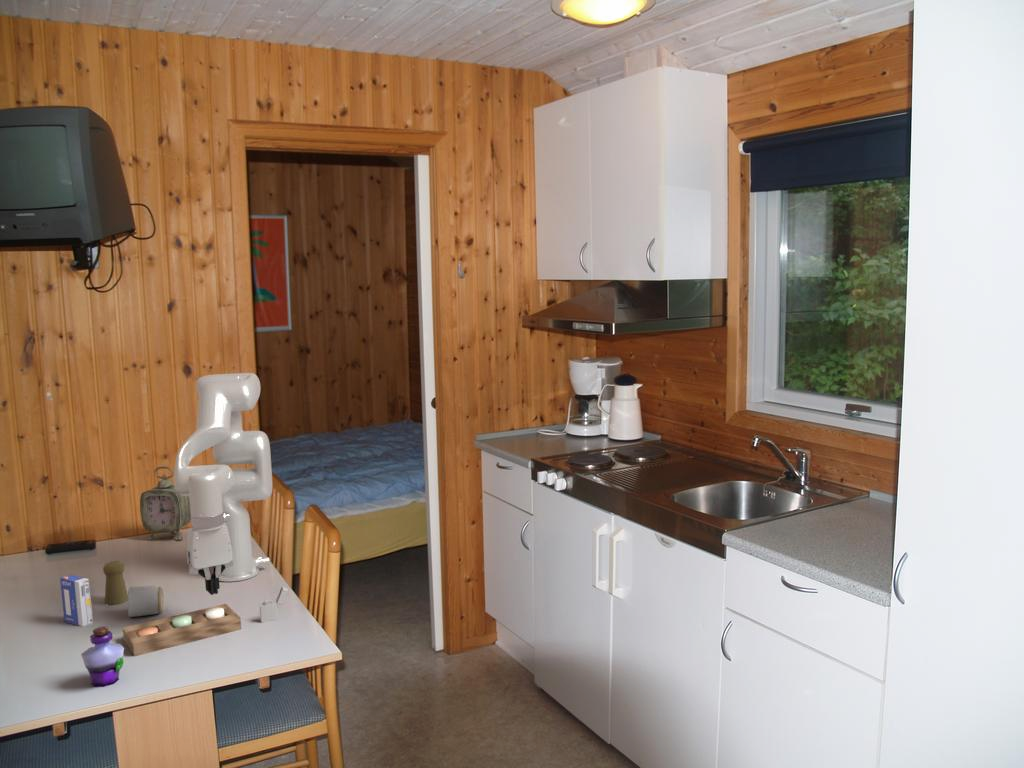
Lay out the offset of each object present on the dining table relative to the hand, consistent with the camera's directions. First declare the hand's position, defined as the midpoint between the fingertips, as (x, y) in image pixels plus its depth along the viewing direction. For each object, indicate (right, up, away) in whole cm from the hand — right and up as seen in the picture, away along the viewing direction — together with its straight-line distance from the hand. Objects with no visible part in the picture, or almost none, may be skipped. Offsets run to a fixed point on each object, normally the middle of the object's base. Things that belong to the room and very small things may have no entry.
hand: (213, 592), depth 221 cm
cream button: (0, -7, +1) cm, 7 cm away
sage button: (-6, -8, -3) cm, 11 cm away
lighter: (+14, -8, +5) cm, 17 cm away
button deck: (-6, -9, -3) cm, 12 cm away
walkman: (-37, -9, +7) cm, 39 cm away
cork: (-34, -8, +21) cm, 41 cm away
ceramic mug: (-22, -8, +12) cm, 26 cm away
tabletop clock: (-42, -1, +81) cm, 91 cm away
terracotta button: (-13, -10, -8) cm, 18 cm away
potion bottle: (-14, -13, -28) cm, 34 cm away
